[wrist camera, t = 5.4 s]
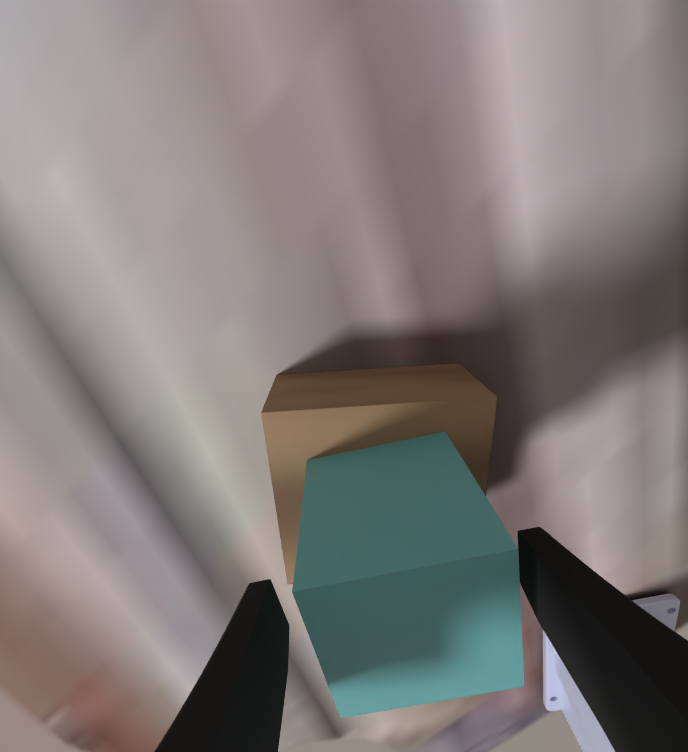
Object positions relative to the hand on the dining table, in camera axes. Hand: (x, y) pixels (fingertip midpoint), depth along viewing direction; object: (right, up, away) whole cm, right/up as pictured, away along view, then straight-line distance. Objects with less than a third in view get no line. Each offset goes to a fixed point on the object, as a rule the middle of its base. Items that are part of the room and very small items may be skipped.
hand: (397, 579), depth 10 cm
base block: (0, +3, +7) cm, 7 cm away
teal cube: (0, +1, +3) cm, 3 cm away
